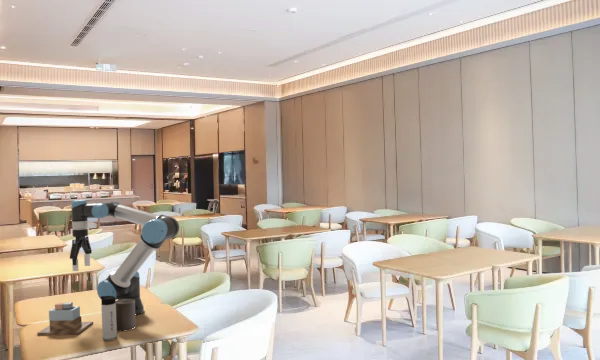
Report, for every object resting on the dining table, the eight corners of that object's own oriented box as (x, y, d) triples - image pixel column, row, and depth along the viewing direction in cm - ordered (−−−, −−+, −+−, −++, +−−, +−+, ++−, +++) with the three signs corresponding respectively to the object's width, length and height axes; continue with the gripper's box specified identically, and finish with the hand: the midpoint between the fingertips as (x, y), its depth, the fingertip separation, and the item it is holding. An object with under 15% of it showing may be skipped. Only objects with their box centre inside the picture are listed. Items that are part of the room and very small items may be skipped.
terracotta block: (65, 309, 246) (65, 302, 246) (62, 311, 242) (61, 304, 242) (58, 309, 246) (58, 302, 246) (55, 311, 242) (54, 304, 242)
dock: (92, 323, 252) (92, 313, 252) (78, 334, 237) (77, 322, 236) (54, 324, 253) (54, 313, 253) (37, 335, 237) (36, 323, 237)
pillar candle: (116, 332, 238) (115, 302, 237) (113, 327, 246) (113, 297, 246) (137, 329, 242) (136, 299, 242) (134, 324, 251) (133, 294, 250)
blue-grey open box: (80, 316, 248) (79, 306, 248) (72, 320, 241) (72, 310, 241) (57, 316, 248) (56, 306, 248) (49, 320, 241) (48, 310, 241)
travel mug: (104, 336, 232) (102, 294, 232) (118, 336, 233) (117, 294, 232) (100, 341, 226) (98, 298, 225) (114, 340, 226) (113, 297, 226)
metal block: (72, 309, 246) (72, 302, 246) (69, 311, 243) (69, 304, 243) (65, 309, 246) (65, 302, 246) (62, 311, 243) (62, 304, 243)
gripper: (83, 226, 275) (85, 263, 276) (61, 232, 250) (63, 273, 251) (97, 226, 275) (98, 263, 275) (76, 231, 250) (77, 273, 250)
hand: (81, 268), depth 263 cm, fingers open, 13 cm apart
